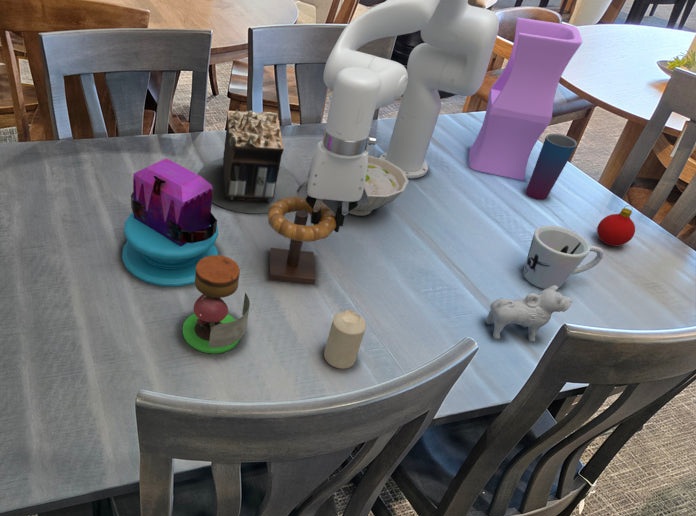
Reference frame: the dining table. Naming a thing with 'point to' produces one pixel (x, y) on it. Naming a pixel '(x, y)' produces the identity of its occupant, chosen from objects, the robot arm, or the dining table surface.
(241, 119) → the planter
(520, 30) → the container
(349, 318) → the candle
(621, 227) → the christmas ornament
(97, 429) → the dining table surface
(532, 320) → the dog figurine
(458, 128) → the dining table surface
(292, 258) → the post
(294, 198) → the ring
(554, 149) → the cup
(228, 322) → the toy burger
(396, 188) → the bowl
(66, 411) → the dining table surface
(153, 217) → the decorative object
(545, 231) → the mug
